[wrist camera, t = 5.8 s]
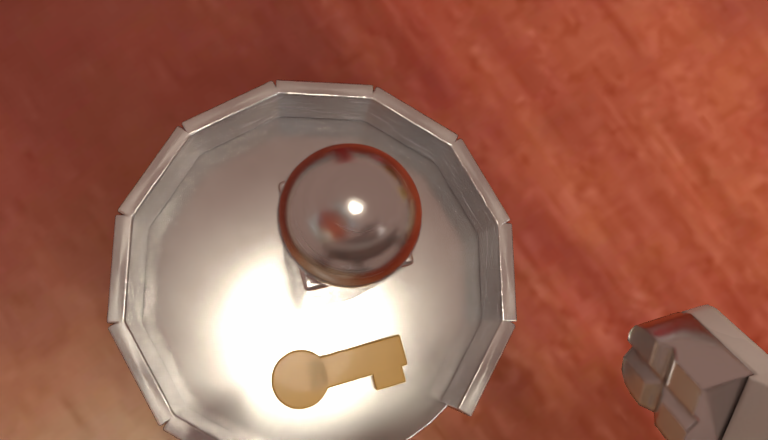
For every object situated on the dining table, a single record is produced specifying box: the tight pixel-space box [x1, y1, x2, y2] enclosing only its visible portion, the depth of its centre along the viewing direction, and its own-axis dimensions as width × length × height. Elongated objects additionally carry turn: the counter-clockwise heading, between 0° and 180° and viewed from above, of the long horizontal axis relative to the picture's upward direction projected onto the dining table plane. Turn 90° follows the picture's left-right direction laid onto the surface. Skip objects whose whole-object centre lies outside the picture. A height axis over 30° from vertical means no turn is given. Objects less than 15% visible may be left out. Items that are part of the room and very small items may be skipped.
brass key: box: [271, 335, 407, 409], centre depth 19 cm, size 4×2×1 cm, turn 105°
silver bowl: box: [107, 80, 517, 440], centre depth 14 cm, size 12×12×12 cm
